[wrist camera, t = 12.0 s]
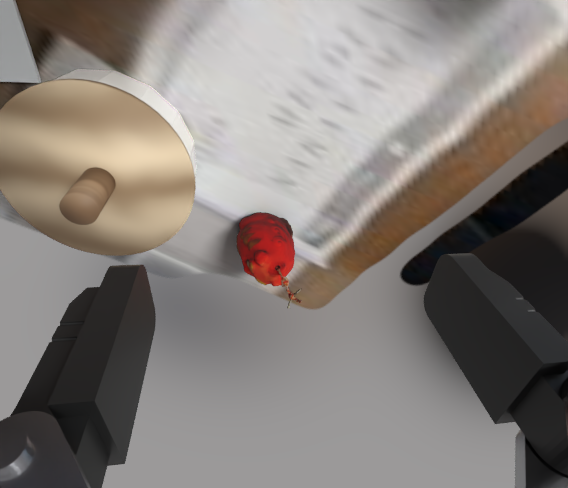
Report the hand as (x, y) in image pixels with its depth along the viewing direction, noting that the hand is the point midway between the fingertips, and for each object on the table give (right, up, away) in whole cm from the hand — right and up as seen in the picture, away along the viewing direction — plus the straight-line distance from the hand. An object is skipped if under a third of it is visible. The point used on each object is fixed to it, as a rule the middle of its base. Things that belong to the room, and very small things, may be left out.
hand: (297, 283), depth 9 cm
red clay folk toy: (-3, +3, +35) cm, 35 cm away
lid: (-17, +7, +23) cm, 29 cm away
